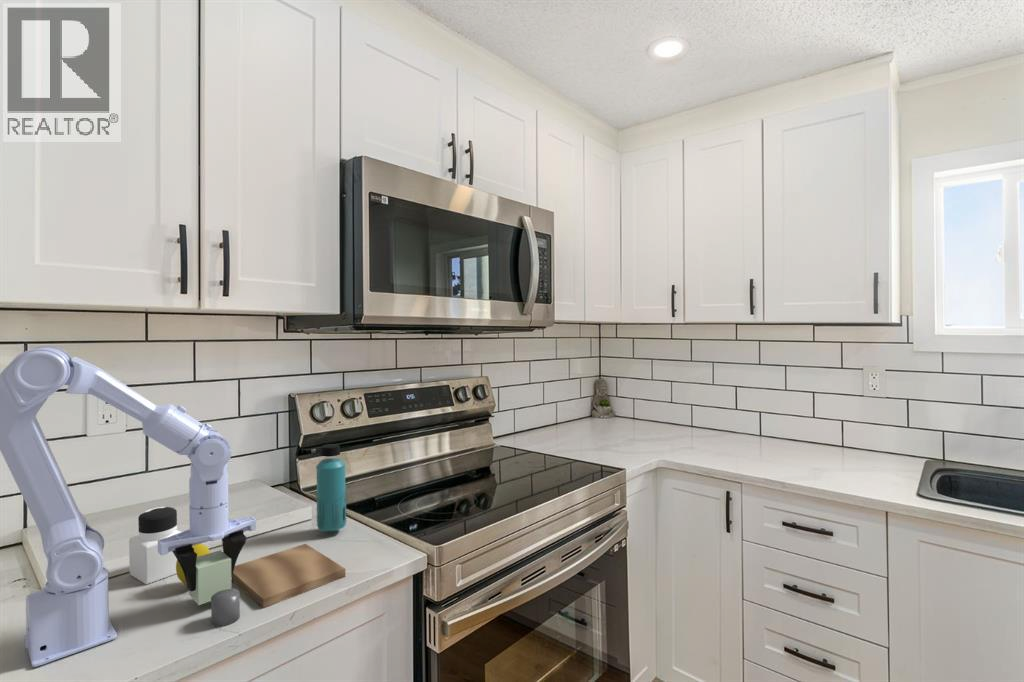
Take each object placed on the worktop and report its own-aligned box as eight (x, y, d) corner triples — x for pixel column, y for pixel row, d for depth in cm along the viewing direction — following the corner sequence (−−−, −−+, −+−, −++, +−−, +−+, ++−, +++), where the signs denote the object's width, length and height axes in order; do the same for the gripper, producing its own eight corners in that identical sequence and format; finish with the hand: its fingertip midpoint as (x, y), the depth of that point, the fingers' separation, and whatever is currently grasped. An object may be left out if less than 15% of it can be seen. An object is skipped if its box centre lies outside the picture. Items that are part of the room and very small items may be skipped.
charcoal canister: (216, 629, 81) (216, 604, 81) (207, 620, 84) (207, 595, 84) (243, 619, 84) (243, 594, 84) (234, 610, 87) (233, 586, 87)
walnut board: (263, 608, 88) (263, 599, 88) (228, 576, 99) (228, 568, 98) (345, 576, 99) (345, 568, 99) (305, 550, 110) (305, 543, 109)
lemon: (195, 595, 92) (195, 550, 91) (168, 591, 93) (167, 547, 92) (219, 580, 97) (218, 537, 97) (193, 577, 98) (192, 534, 98)
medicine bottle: (188, 570, 101) (187, 508, 100) (146, 585, 95) (144, 520, 94) (170, 560, 105) (169, 501, 104) (129, 574, 99) (127, 511, 98)
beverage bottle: (347, 535, 117) (347, 447, 117) (316, 540, 115) (315, 449, 114) (345, 525, 123) (345, 440, 123) (315, 529, 121) (315, 443, 120)
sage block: (198, 605, 85) (198, 569, 85) (188, 594, 89) (188, 559, 89) (231, 593, 89) (231, 559, 89) (220, 583, 92) (220, 550, 92)
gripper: (166, 521, 80) (167, 608, 81) (263, 498, 91) (263, 575, 92) (153, 509, 85) (154, 592, 86) (247, 489, 96) (247, 562, 96)
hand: (210, 582), depth 89 cm, fingers closed on sage block, 5 cm apart
